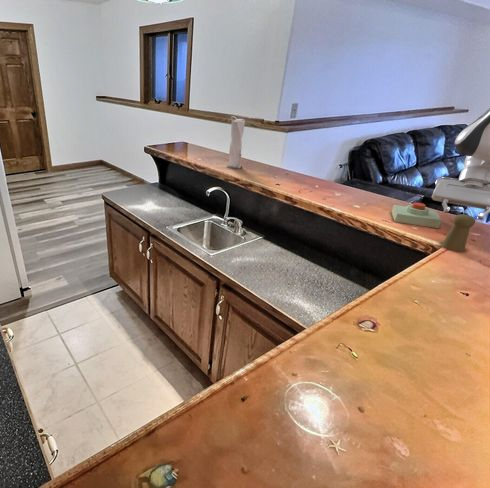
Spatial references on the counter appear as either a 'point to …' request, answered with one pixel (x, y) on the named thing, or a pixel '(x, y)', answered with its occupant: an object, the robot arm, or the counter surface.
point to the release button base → (416, 216)
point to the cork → (459, 233)
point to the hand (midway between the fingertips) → (462, 215)
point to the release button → (418, 206)
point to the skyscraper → (236, 143)
